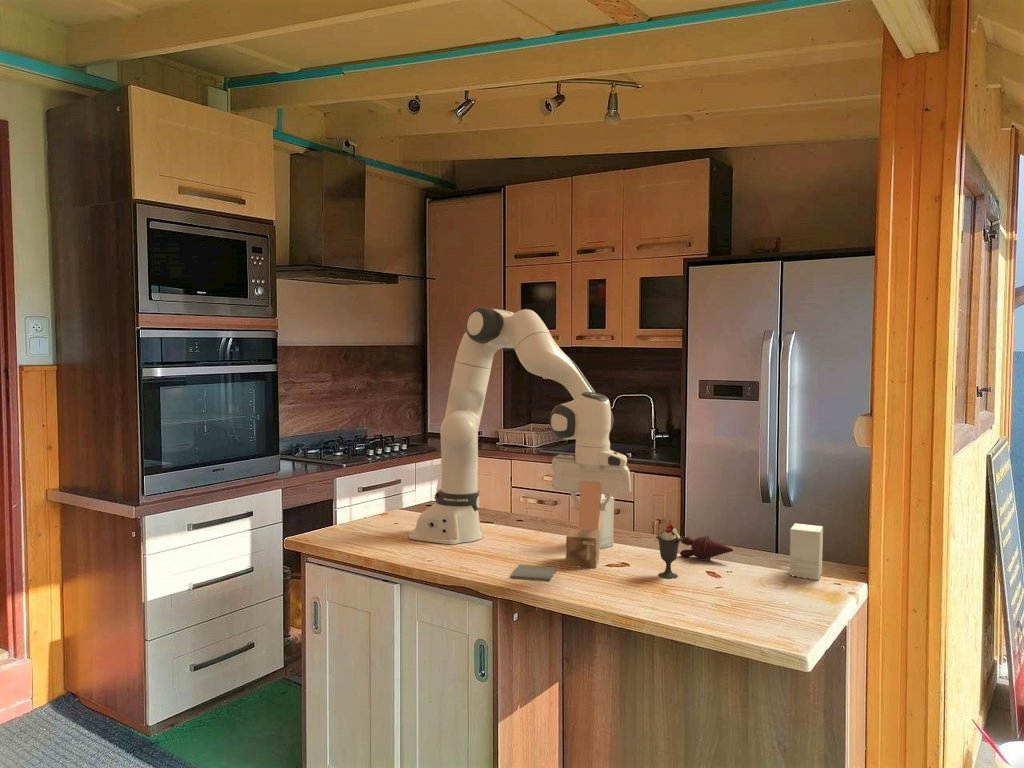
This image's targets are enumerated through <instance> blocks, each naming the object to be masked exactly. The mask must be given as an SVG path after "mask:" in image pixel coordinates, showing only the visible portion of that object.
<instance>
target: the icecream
mask: <svg viewBox="0 0 1024 768" xmlns="http://www.w3.org/2000/svg"><path fill="white" fill-rule="evenodd" d="M681 537H682V540H681V541H680V543H681V544H683V545H685V546H691V548H690V549H683V550H681V551H680V554H679V555H680V557H682V558H688V557H689V558H690V557H692V556H694V557H695V558H697V559H699V560H703V561H707V562H709V561H710V559H712V558H714V557H717V556H721V555H724V554H728V553H731V552H733V551H734V549H733V548H731V547H729V546H727V545H724V544H722V543H720V542H717V541H714V540H712V539H711V537H710V536H709V535H706V536H705V535H704V536H699V537H696V538H695V539H693V538H691V537H690V536H681Z"/></svg>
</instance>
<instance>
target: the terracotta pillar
mask: <svg viewBox="0 0 1024 768" xmlns="http://www.w3.org/2000/svg"><path fill="white" fill-rule="evenodd" d="M601 499H602V494H601V493H600V483H590V482H580V492H579V501H580V506H579V509H578V511H579V512H578V513H579V514H578V530H581V529H586V530H599V528H600V526H601V511H600V503H601Z"/></svg>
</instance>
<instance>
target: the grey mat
mask: <svg viewBox="0 0 1024 768" xmlns="http://www.w3.org/2000/svg"><path fill="white" fill-rule="evenodd" d="M555 570H556V571H557V567H555V566H540V565H529V564H518V566H517V567H516V568H515V569H514V571H513V572H512V573H511V575H510V578H511V579H521V580H530V581H532V580H533V581H543V580H544V581H545V582H550V581H552V578H553V576H554V574H555V573H554V572H556V571H555Z"/></svg>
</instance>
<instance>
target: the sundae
mask: <svg viewBox="0 0 1024 768" xmlns="http://www.w3.org/2000/svg"><path fill="white" fill-rule="evenodd" d="M671 522H672V520H671V519H670V520H669V522H668V524H667V526H666V527H665V528H664V529H663V531H662V533H661V532H660V533H659V534H658V535H656V537H655V539H657V540H658V544H659V553H660V558H661V559H662V560H663V562H664V563H665V565H666V566H665V570H664V571H663V572H659V573H658V577H660V578H662V577H663V578H664V579H668V578H669V579H670V580H671V579H672V578H673V579H676V578H678V577H679V575H678V574H677V573H676V572H675V573H674V572H673V571H672V563H673V562H674V561H676V559H677V555H678V552H679V551H678V550H679V546H680V543H681V540H682V537H683V536H681V535H680V534H679V533H678V530H677V529H676V528H675V527H674V525H673V524H671ZM663 578H662V579H663Z"/></svg>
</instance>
